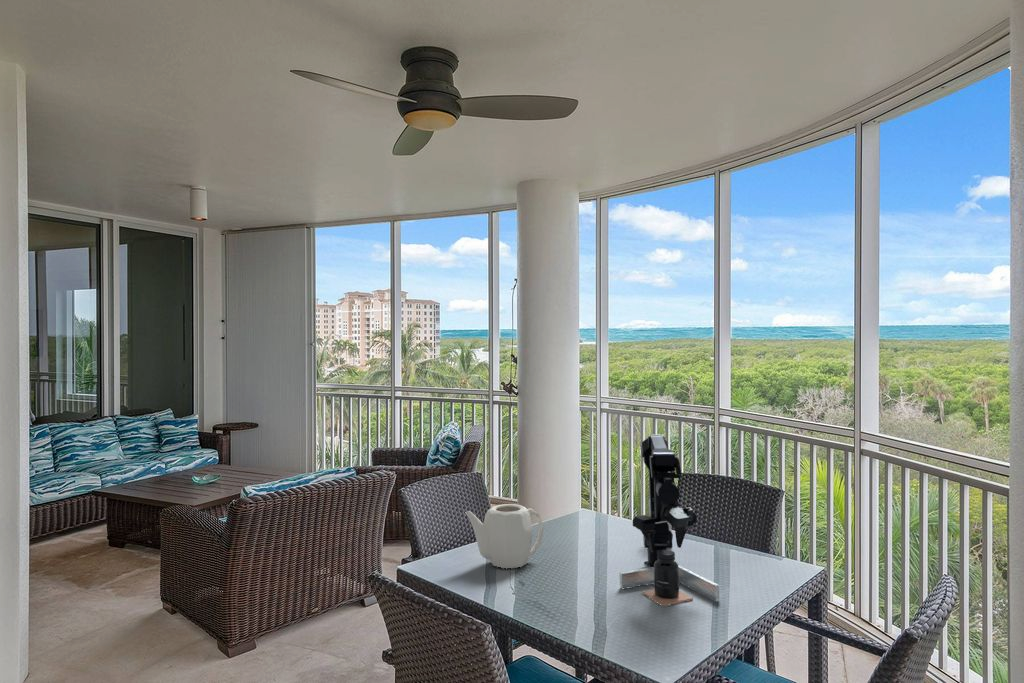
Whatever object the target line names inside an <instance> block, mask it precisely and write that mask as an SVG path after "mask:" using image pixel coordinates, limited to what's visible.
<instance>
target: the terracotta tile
mask: <svg viewBox="0 0 1024 683" xmlns="http://www.w3.org/2000/svg"><path fill="white" fill-rule="evenodd" d="M641 593H643V594H642V595H644V594H645V595H646V596H645V595H644V596H645V597H647V596H648V597H650V598H651V599H650V598H649V599H650V600H652V599H653V600H654V601H653V600H652V601H653V602H655V601H656V602H655V603H657V602H658V603H659V604H658V603H657V604H658V605H660V604H661V605H662V606H661V605H660V606H661V607H667V606H666V605H668V606H670V605H669V604H673V605H676V604H675V603H678V604H681V603H680V602H682V603H685V602H684V601H687V602H691V601H690V600H692V601H693V597H691V596H690V595H687V594H686V593H684V592H682V591H681V590H679V595H678V597H676V598H672V599H666V598H661V597H658V596H657V595H656V594H655V591H654V588H653V589H649V590H643V591H641ZM648 597H647V598H648Z"/></svg>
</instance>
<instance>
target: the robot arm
mask: <svg viewBox="0 0 1024 683" xmlns="http://www.w3.org/2000/svg"><path fill="white" fill-rule="evenodd" d="M665 438H666V437H665V435H664V434H661V433H660V434H657V433H655V434H653V433H652V434H648V436H647V438H646V439H645V440H643V441H641V446H640V452H641V453H640V454H641V458H642V459H643V463H644V465H645V467H646V468H647V469H648V492H649V500H650V516H648V515H645V514H643V515H637V516H634V517H633V519H632V527H634V528H636V529H637V530H639V531H640V532H641V534H642V535H643V536H642V539H643V546H644V548H645V549H647V561H644V562H643V563H644V564H645V565H646V566H648V567H649V568H650V567H654V563H655V562H656V561H657V560H658V558H657V556H658V554H657V552H658V551H659V550H668V549H672V548H673V539H674V538H673V537H674V534H673V532H672V533H671V530H670V529H669V525H668V523H670V524H671V528H673V529H674V533H675V542H676V545H677V546H676V547H677V548H682V546H683V542H684V538H685V537H686V534H687V531H688V530H689V529H690V528H691V527H694V524H698V516H697V514H696V512H694V510H693V508H692V507H690V506H688V507H680V506H679V501H678V500H679V498H680V494H681V493H680V490H679V488H678V486H677V484H676V483H675V479H680V478H681V476H680V475H682V470H681V464H680V463H681V462H680V459H679V457H678V455H676V454H675V452H674V450H672V449H669V443H668V440H666V439H665Z"/></svg>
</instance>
